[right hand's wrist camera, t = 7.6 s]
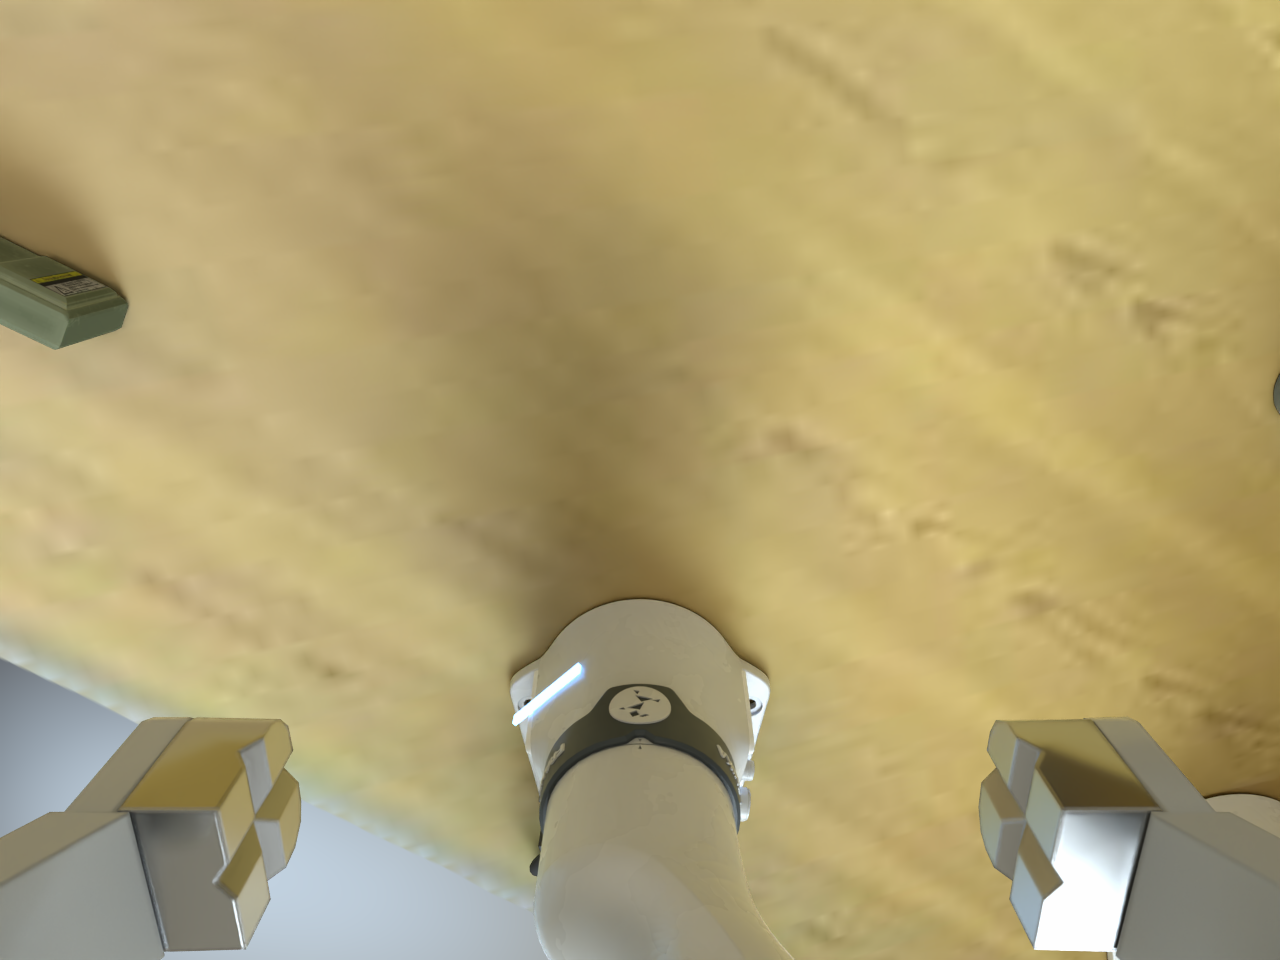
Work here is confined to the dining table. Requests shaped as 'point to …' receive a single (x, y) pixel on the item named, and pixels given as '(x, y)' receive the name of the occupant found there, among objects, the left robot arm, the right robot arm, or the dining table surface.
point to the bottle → (1277, 394)
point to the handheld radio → (54, 300)
